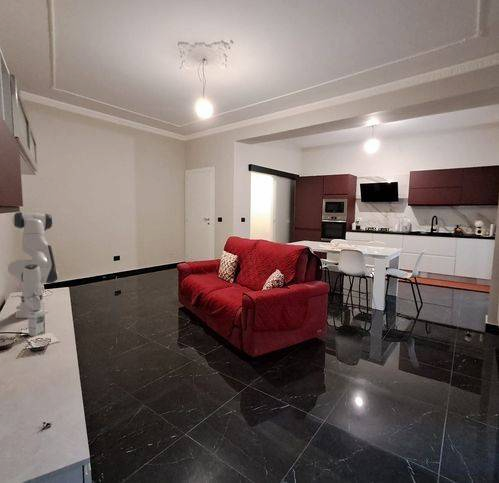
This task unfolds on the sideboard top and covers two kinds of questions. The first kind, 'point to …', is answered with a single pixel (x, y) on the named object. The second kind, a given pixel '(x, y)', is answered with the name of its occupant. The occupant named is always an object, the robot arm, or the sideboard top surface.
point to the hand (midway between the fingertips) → (32, 314)
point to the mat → (48, 335)
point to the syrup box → (36, 322)
